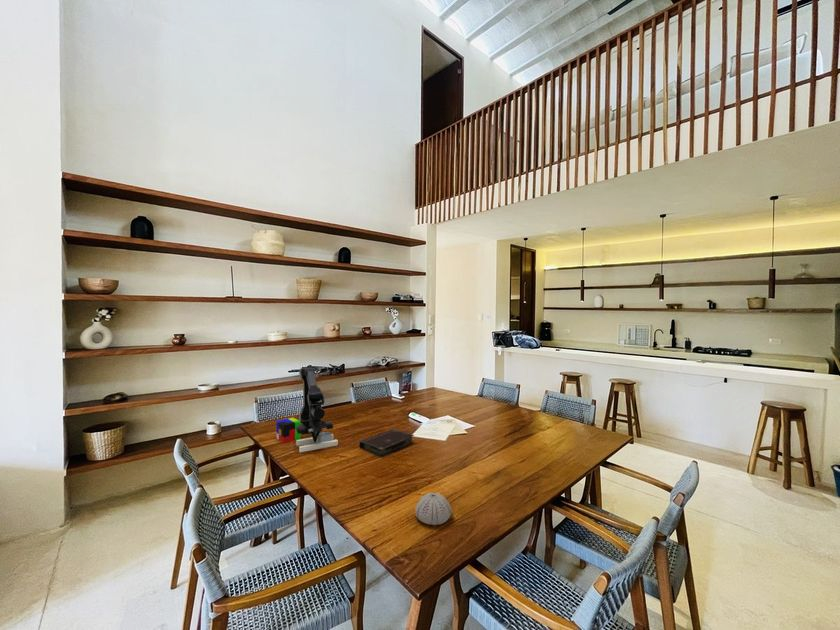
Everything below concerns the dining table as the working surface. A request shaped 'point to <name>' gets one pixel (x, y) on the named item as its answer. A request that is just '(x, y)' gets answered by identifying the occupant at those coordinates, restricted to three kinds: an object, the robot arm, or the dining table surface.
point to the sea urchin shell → (433, 509)
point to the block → (324, 437)
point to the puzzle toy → (287, 430)
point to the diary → (386, 442)
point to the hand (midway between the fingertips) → (314, 442)
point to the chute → (314, 446)
